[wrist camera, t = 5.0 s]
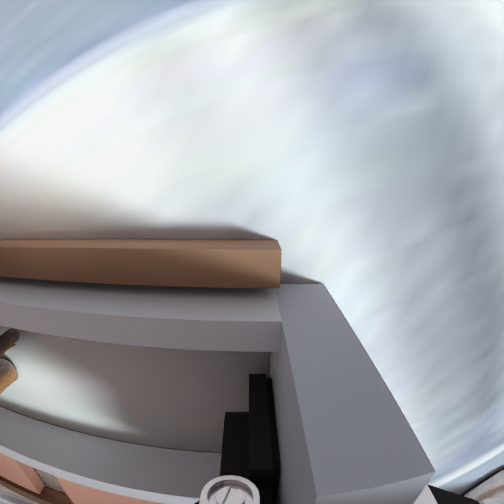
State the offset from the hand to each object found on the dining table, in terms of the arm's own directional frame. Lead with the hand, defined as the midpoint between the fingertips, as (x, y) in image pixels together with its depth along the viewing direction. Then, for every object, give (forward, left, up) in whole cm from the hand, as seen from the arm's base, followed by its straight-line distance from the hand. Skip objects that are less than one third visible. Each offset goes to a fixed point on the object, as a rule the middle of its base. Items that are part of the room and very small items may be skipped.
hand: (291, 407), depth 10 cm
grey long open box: (0, +12, -1) cm, 12 cm away
